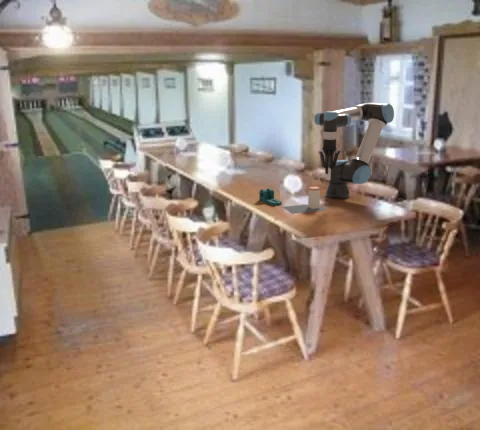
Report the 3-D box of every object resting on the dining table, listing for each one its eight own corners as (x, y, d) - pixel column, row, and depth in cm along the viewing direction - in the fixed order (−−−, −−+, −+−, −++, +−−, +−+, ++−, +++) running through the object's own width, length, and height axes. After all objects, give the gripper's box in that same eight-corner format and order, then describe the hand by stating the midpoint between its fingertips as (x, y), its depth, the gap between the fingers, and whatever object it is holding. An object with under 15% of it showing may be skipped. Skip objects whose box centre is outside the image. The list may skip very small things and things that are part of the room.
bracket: (259, 200, 328) (259, 188, 325) (268, 199, 330) (268, 187, 328) (274, 207, 312) (274, 194, 310) (283, 205, 315) (283, 192, 313)
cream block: (316, 206, 310) (316, 186, 307) (319, 208, 305) (320, 188, 302) (308, 206, 308) (308, 187, 305) (311, 209, 304) (312, 188, 301)
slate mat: (315, 204, 316) (315, 203, 316) (327, 211, 301) (327, 210, 301) (281, 207, 310) (281, 206, 310) (292, 214, 295) (292, 213, 295)
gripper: (337, 137, 304) (335, 177, 310) (316, 138, 300) (315, 178, 306) (343, 139, 297) (341, 179, 303) (322, 140, 293) (320, 181, 299)
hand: (328, 179), depth 305 cm, fingers closed
